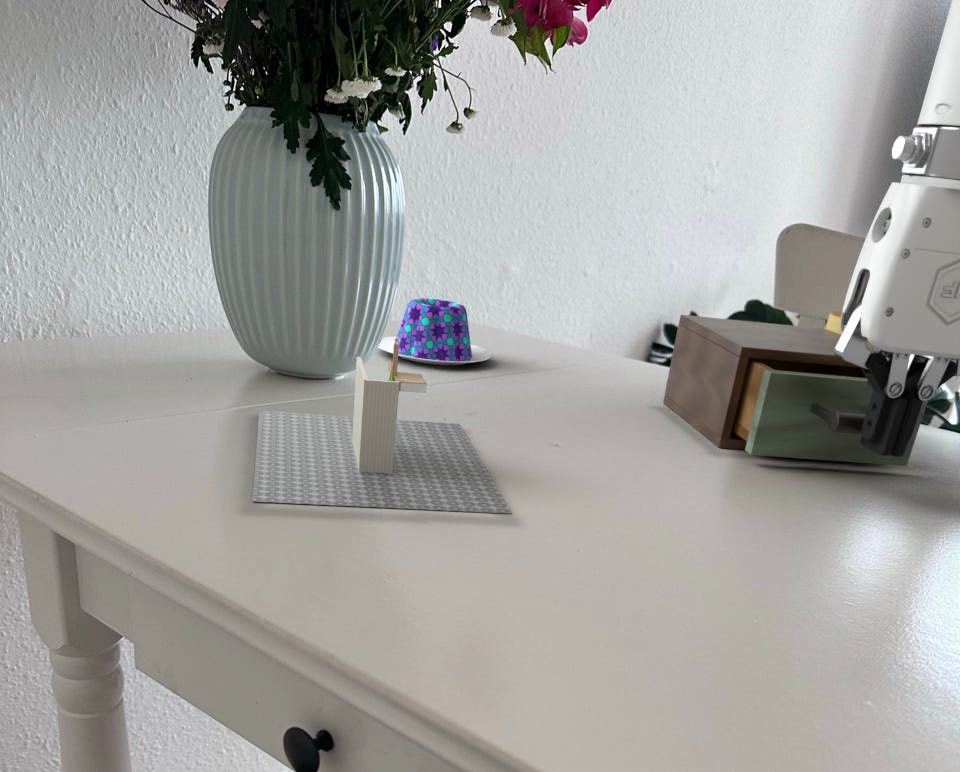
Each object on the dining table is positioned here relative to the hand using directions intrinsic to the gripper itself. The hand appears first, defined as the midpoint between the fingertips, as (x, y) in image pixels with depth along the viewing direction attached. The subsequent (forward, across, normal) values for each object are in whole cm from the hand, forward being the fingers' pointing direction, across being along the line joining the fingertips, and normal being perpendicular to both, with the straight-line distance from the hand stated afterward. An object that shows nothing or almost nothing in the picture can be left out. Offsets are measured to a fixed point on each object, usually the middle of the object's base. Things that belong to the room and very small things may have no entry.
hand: (880, 450), depth 69 cm
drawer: (+3, 0, +11) cm, 11 cm away
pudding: (+4, -28, +38) cm, 48 cm away
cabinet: (+4, 0, +18) cm, 19 cm away
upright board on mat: (+4, -36, +2) cm, 36 cm away
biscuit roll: (+4, +12, +28) cm, 31 cm away
